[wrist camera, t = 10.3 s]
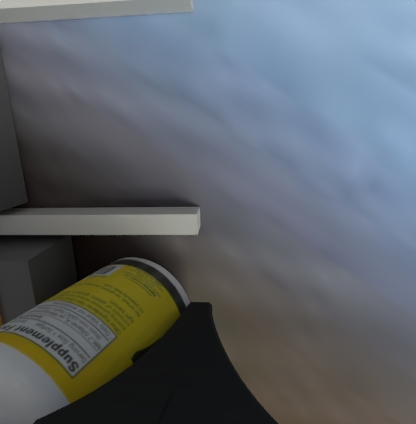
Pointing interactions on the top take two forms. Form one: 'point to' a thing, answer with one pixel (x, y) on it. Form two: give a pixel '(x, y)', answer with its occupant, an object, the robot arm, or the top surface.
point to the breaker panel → (104, 216)
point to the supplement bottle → (84, 337)
